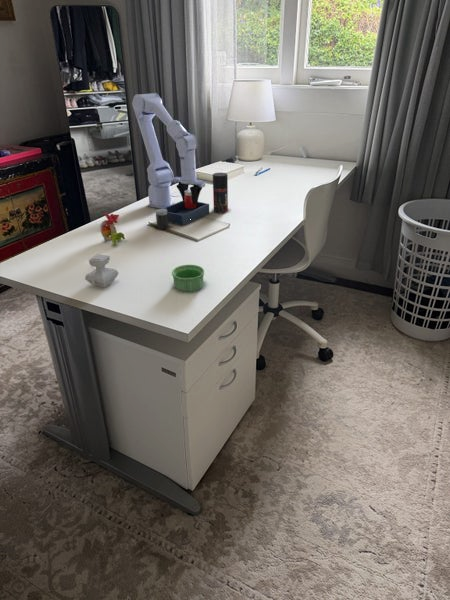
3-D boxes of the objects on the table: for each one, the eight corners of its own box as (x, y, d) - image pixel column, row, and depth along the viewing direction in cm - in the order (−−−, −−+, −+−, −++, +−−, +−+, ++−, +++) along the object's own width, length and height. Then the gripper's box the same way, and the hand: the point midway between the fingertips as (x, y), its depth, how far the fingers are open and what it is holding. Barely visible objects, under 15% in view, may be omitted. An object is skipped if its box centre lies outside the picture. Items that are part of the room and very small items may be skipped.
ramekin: (167, 289, 117) (166, 275, 115) (181, 276, 124) (180, 262, 122) (196, 295, 114) (196, 280, 112) (209, 280, 122) (209, 267, 119)
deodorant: (226, 213, 174) (225, 176, 166) (212, 212, 175) (211, 175, 167) (229, 208, 179) (228, 172, 171) (215, 208, 180) (214, 172, 172)
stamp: (103, 275, 126) (98, 249, 121) (122, 279, 123) (118, 252, 119) (83, 289, 118) (78, 261, 114) (103, 293, 116) (98, 265, 112)
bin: (159, 219, 168) (158, 210, 166) (186, 208, 180) (186, 199, 178) (182, 225, 162) (181, 215, 160) (209, 213, 174) (209, 203, 172)
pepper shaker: (154, 227, 160) (152, 211, 157) (162, 224, 163) (161, 207, 160) (163, 230, 158) (161, 213, 154) (171, 226, 161) (170, 209, 158)
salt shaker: (182, 207, 172) (181, 191, 168) (189, 204, 175) (188, 188, 172) (191, 209, 169) (190, 193, 166) (198, 206, 172) (197, 190, 169)
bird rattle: (101, 249, 148) (118, 244, 142) (87, 220, 144) (103, 213, 139) (113, 243, 152) (130, 238, 147) (100, 214, 149) (116, 207, 144)
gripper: (167, 168, 165) (170, 202, 172) (196, 172, 158) (198, 208, 165) (179, 164, 170) (181, 197, 177) (207, 168, 163) (209, 203, 170)
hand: (190, 202), depth 171 cm, fingers closed on salt shaker, 4 cm apart
